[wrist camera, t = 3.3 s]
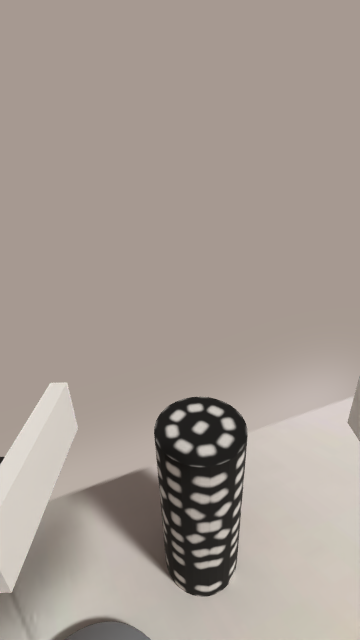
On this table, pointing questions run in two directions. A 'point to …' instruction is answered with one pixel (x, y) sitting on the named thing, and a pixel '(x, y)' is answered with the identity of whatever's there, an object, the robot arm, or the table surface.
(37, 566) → the table surface
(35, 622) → the table surface
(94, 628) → the dish
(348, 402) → the table surface
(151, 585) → the table surface
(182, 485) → the white-spotted black cylinder
